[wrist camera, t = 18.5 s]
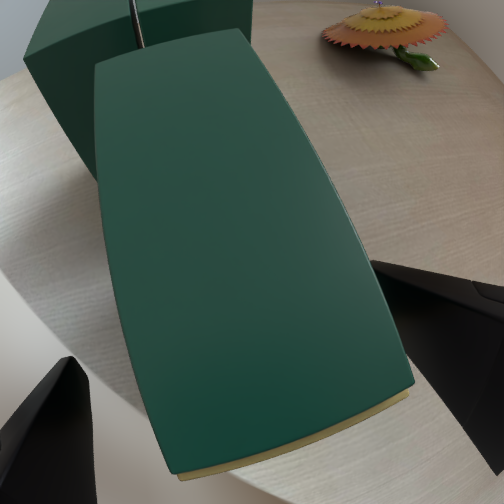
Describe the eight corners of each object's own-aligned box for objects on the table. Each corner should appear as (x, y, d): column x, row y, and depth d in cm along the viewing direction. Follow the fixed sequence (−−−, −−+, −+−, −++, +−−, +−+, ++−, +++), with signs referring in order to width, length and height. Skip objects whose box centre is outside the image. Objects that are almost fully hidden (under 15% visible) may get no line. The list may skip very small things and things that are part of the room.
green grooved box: (244, 204, 20) (254, -9, 7) (136, 237, 19) (22, 59, 6) (211, 118, 23) (199, -54, 9) (120, 145, 22) (57, -15, 8)
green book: (285, 373, 17) (424, 397, 4) (223, 393, 16) (174, 493, 3) (238, 241, 19) (241, 26, 6) (181, 259, 19) (92, 64, 6)
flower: (418, 34, 30) (402, -20, 24) (479, 73, 23) (470, 3, 16) (324, 65, 35) (298, 10, 29) (365, 112, 27) (338, 36, 21)
